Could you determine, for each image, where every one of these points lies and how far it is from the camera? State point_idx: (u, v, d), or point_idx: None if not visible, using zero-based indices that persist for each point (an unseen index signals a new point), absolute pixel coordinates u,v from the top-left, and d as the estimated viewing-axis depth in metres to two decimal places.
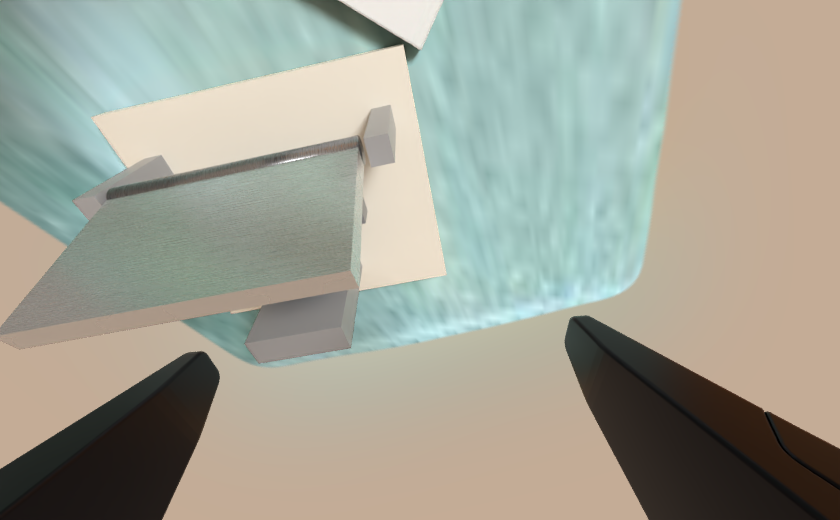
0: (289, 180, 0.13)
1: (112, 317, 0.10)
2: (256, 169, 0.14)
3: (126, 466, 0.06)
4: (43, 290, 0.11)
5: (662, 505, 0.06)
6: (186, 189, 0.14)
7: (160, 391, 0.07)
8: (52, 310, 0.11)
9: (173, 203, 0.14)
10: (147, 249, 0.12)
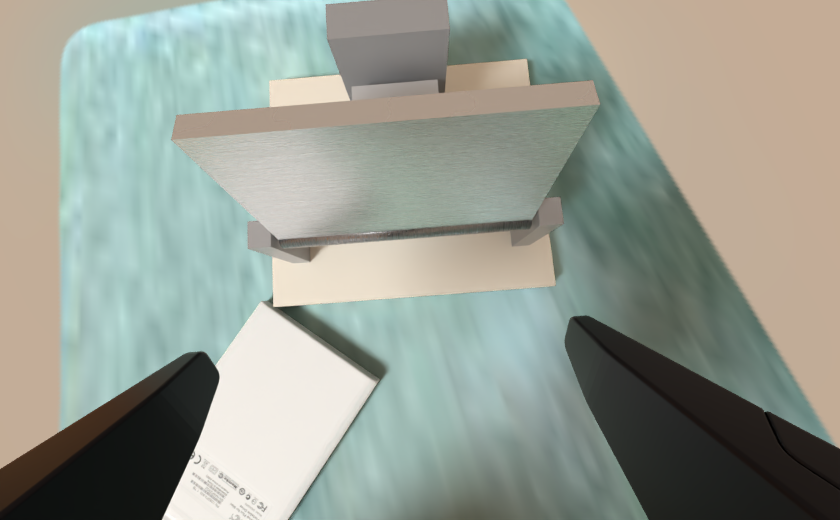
0: (329, 220, 0.14)
1: (451, 112, 0.09)
2: (375, 231, 0.15)
3: (126, 466, 0.06)
4: (557, 147, 0.10)
5: (662, 505, 0.06)
6: (443, 221, 0.15)
7: (160, 391, 0.07)
8: (532, 126, 0.09)
9: (449, 212, 0.14)
10: (449, 175, 0.11)
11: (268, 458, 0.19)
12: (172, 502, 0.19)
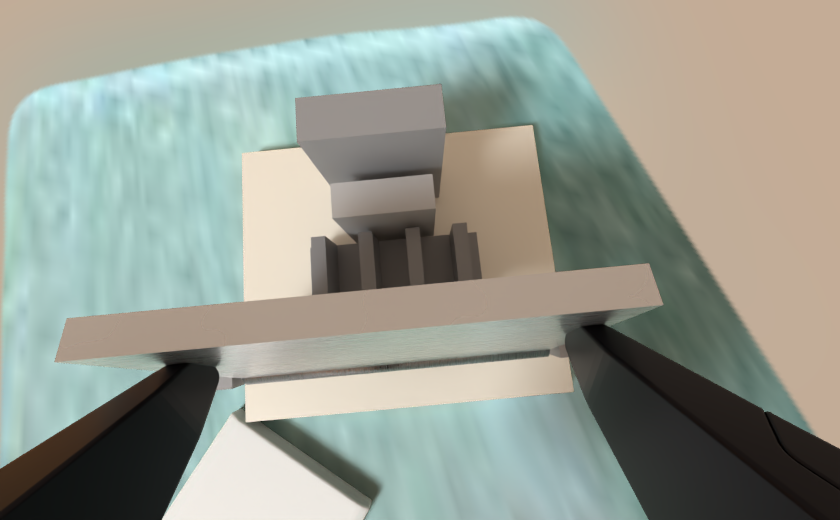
0: (301, 368, 0.11)
1: (453, 316, 0.06)
2: (360, 367, 0.12)
3: (126, 466, 0.06)
4: (594, 324, 0.08)
5: (662, 505, 0.06)
6: (443, 358, 0.12)
7: (160, 391, 0.07)
8: (564, 320, 0.07)
9: (450, 355, 0.11)
10: (450, 344, 0.09)
11: None
12: None
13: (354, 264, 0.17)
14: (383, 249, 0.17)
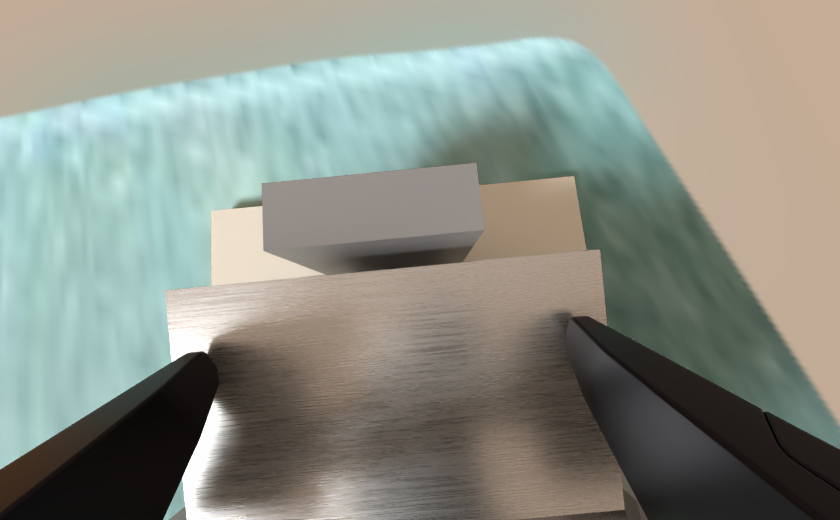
0: (288, 483, 0.09)
1: (450, 263, 0.09)
2: None
3: (127, 466, 0.06)
4: (584, 315, 0.09)
5: (661, 505, 0.06)
6: (471, 503, 0.09)
7: (161, 391, 0.07)
8: (540, 279, 0.09)
9: (476, 469, 0.09)
10: (462, 369, 0.09)
11: None
12: None
13: None
14: None
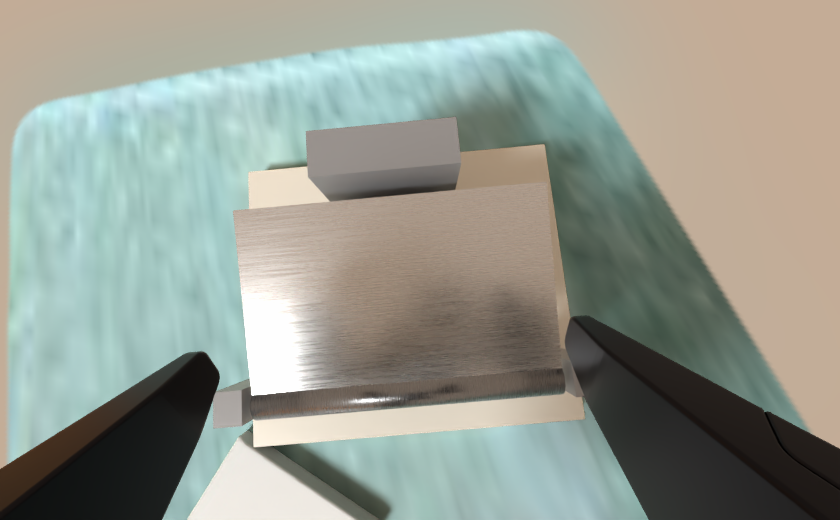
0: (321, 349, 0.12)
1: (438, 192, 0.12)
2: (371, 381, 0.12)
3: (126, 466, 0.06)
4: (534, 229, 0.12)
5: (662, 505, 0.06)
6: (452, 363, 0.12)
7: (160, 391, 0.07)
8: (503, 203, 0.12)
9: (456, 339, 0.12)
10: (446, 267, 0.12)
11: None
12: None
13: None
14: None
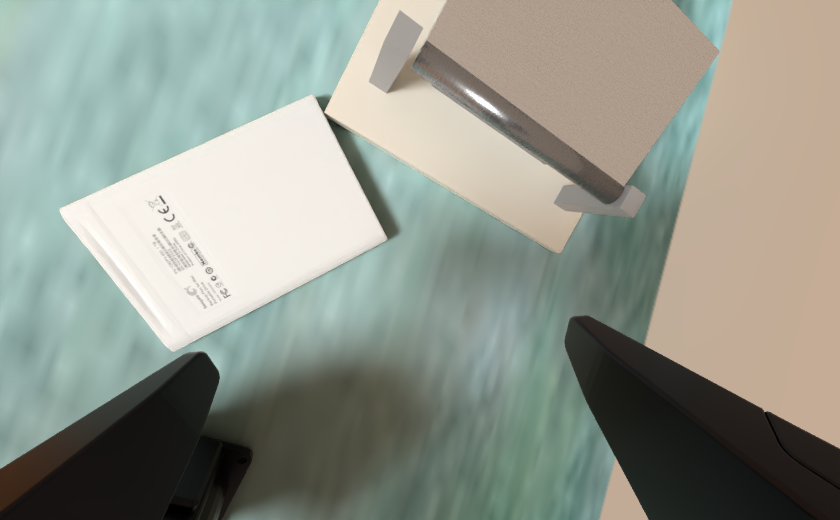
0: (502, 47, 0.13)
1: None
2: (515, 102, 0.14)
3: (126, 466, 0.06)
4: (686, 80, 0.15)
5: (662, 505, 0.06)
6: (572, 132, 0.15)
7: (160, 391, 0.07)
8: (688, 43, 0.15)
9: (587, 117, 0.15)
10: (622, 59, 0.14)
11: (251, 253, 0.18)
12: (121, 245, 0.16)
13: None
14: None
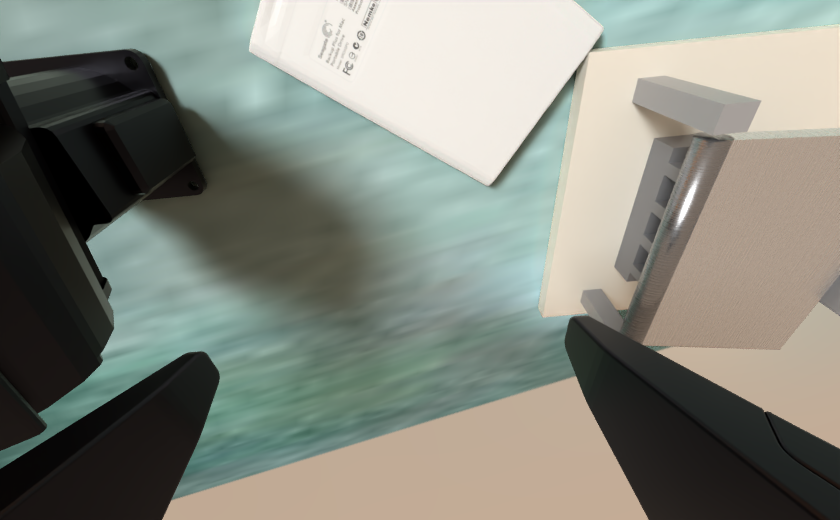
0: (743, 206, 0.14)
1: (821, 293, 0.16)
2: (691, 241, 0.15)
3: (126, 466, 0.06)
4: (749, 341, 0.18)
5: (662, 505, 0.06)
6: (676, 292, 0.16)
7: (160, 391, 0.07)
8: (781, 328, 0.17)
9: (695, 296, 0.16)
10: (756, 295, 0.16)
11: (405, 69, 0.15)
12: None
13: None
14: None
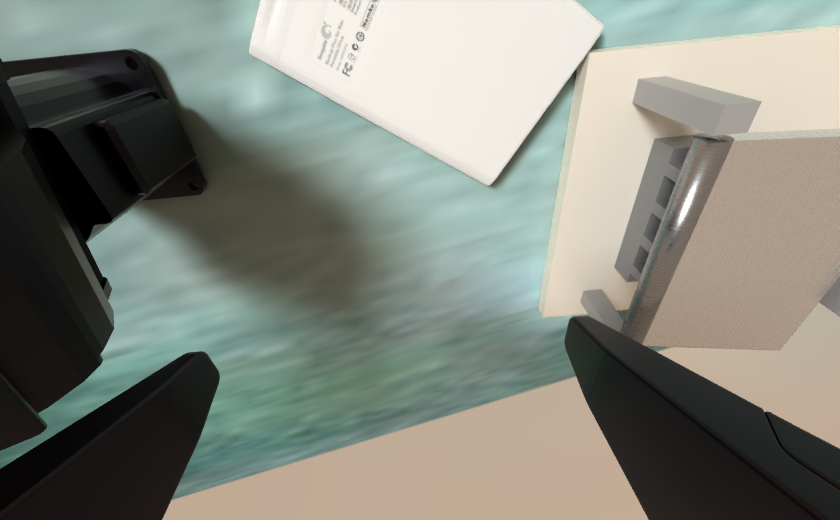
0: (743, 206, 0.14)
1: (821, 294, 0.16)
2: (691, 241, 0.15)
3: (126, 466, 0.06)
4: (749, 342, 0.18)
5: (662, 505, 0.06)
6: (676, 293, 0.16)
7: (160, 391, 0.07)
8: (782, 329, 0.17)
9: (695, 296, 0.16)
10: (756, 295, 0.16)
11: (404, 70, 0.15)
12: None
13: None
14: None
